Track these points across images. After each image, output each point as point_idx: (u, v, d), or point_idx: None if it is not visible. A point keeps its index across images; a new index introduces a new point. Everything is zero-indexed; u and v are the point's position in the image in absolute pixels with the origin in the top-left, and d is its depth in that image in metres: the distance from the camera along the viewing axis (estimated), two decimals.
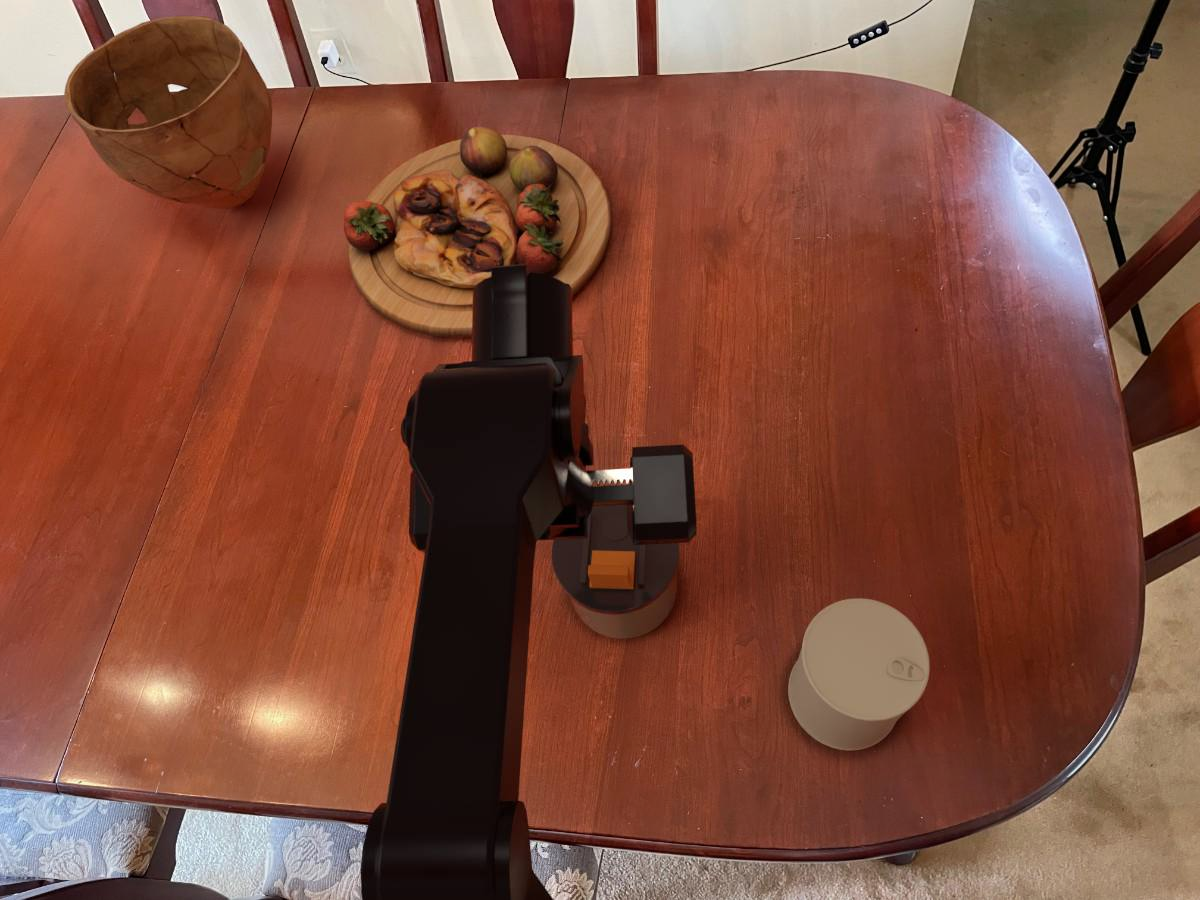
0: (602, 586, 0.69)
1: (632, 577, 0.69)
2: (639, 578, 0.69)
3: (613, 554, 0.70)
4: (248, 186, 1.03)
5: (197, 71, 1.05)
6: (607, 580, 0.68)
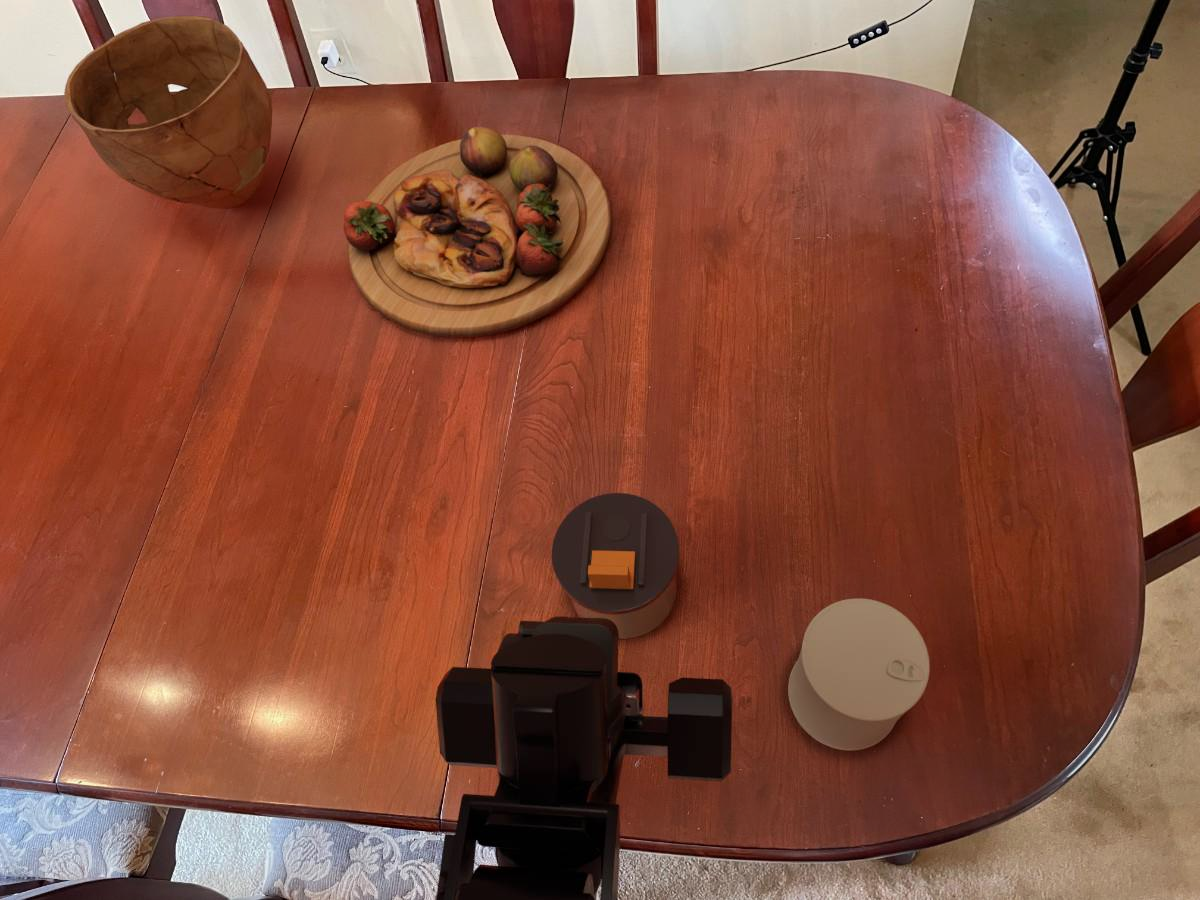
0: (602, 586, 0.69)
1: (632, 577, 0.69)
2: (639, 578, 0.69)
3: (613, 554, 0.70)
4: (248, 186, 1.03)
5: (197, 71, 1.05)
6: (607, 580, 0.68)
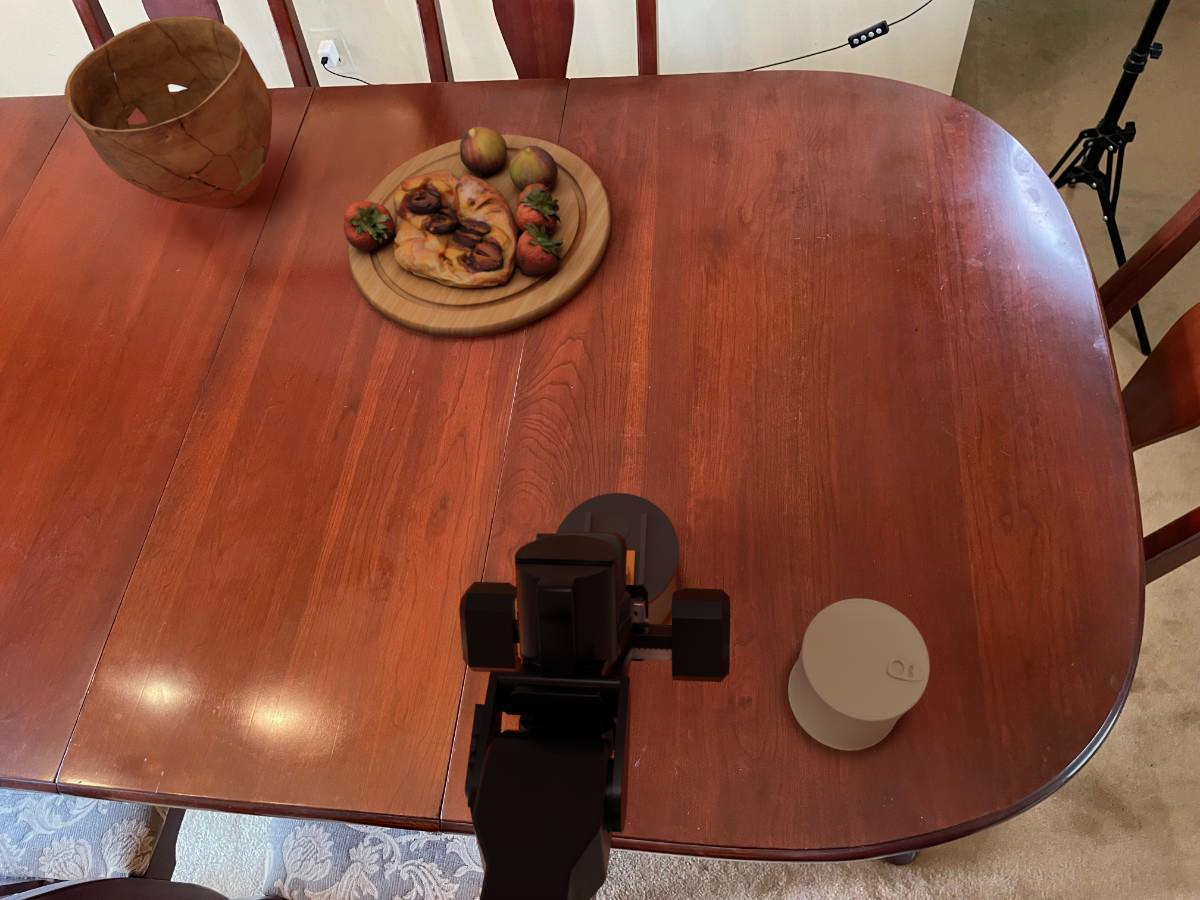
0: None
1: (632, 576, 0.69)
2: (639, 578, 0.69)
3: None
4: (248, 186, 1.03)
5: (197, 71, 1.05)
6: None
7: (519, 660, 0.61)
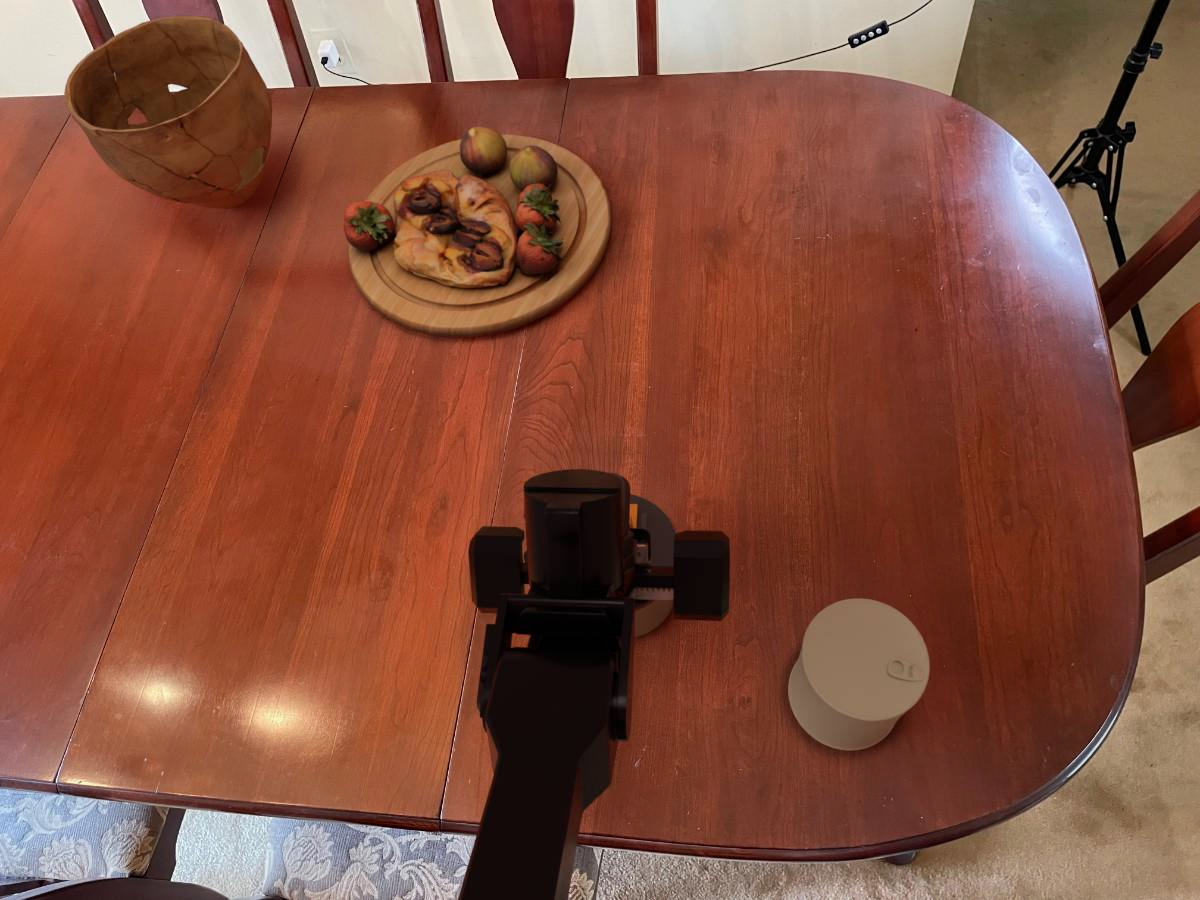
0: None
1: None
2: None
3: None
4: (248, 186, 1.03)
5: (197, 71, 1.05)
6: None
7: None
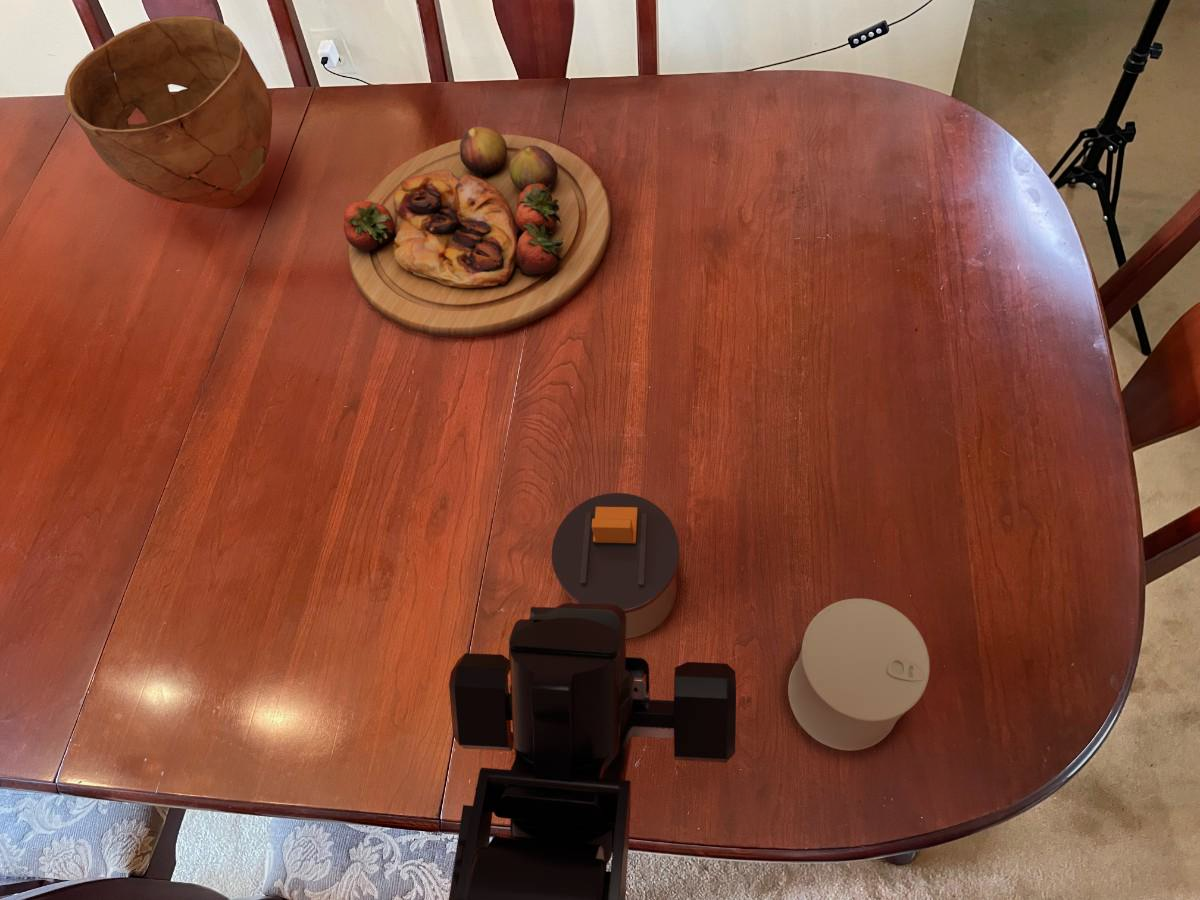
0: (605, 540, 0.71)
1: (634, 532, 0.71)
2: (639, 578, 0.69)
3: (616, 510, 0.72)
4: (248, 186, 1.03)
5: (197, 71, 1.05)
6: (610, 533, 0.70)
7: (512, 736, 0.57)
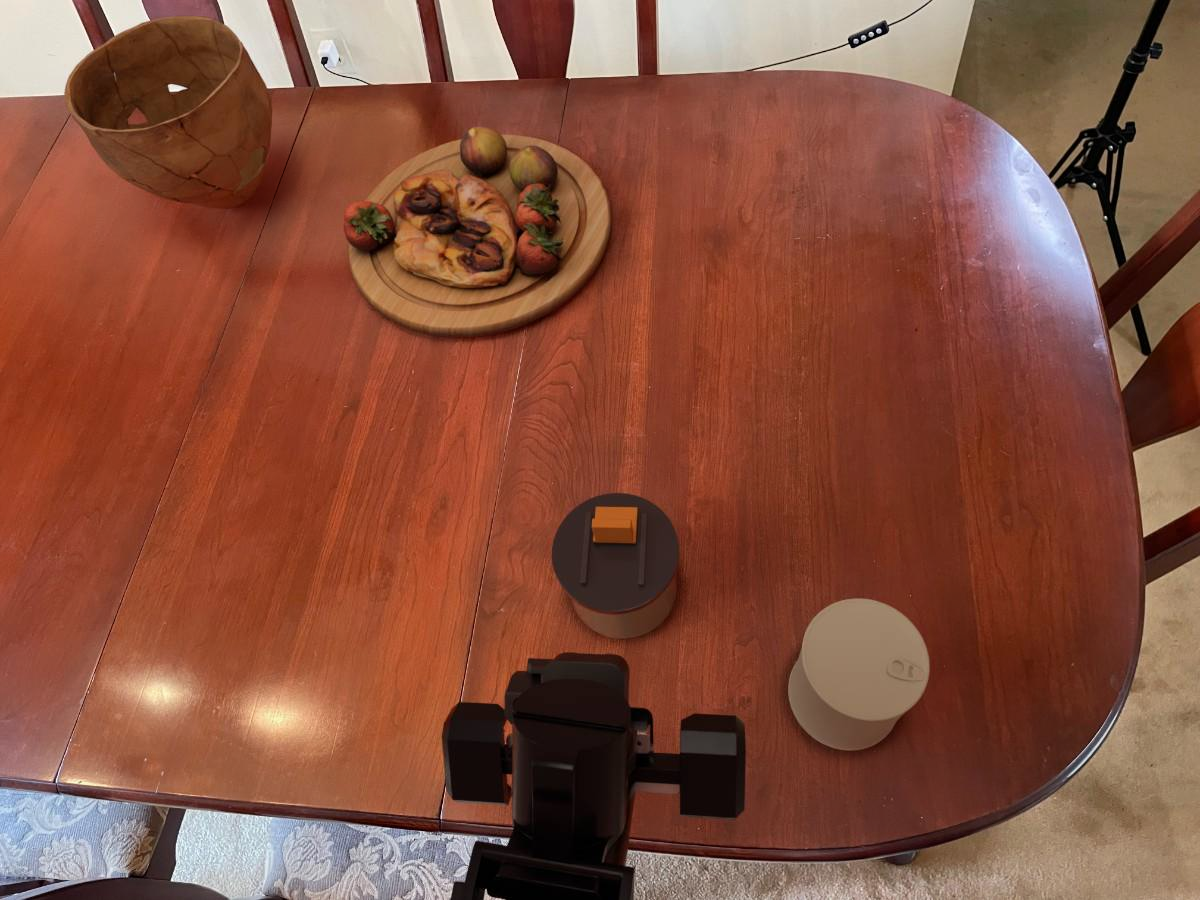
0: (605, 540, 0.71)
1: (634, 532, 0.71)
2: (639, 578, 0.69)
3: (616, 510, 0.72)
4: (248, 186, 1.03)
5: (197, 71, 1.05)
6: (610, 533, 0.70)
7: (509, 789, 0.54)
